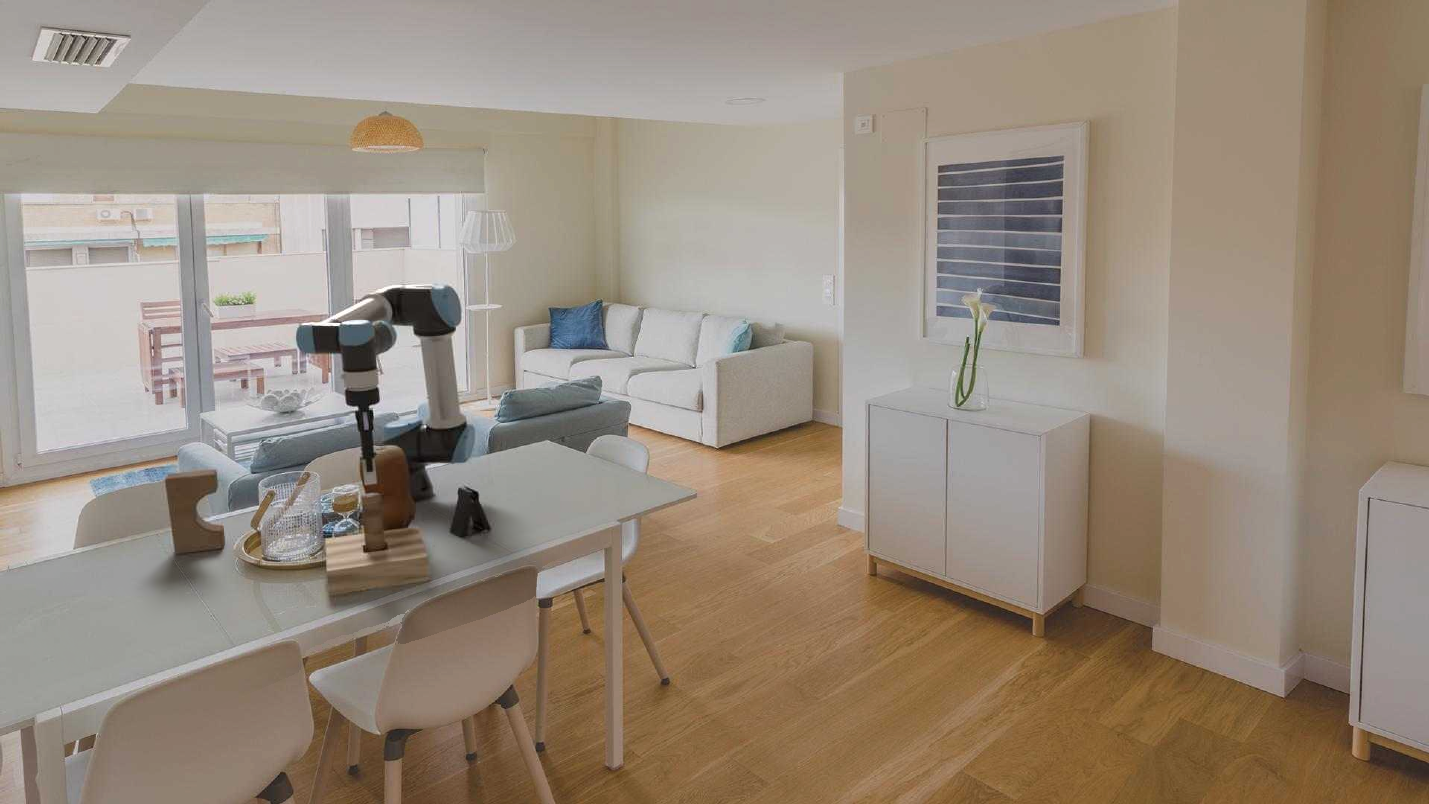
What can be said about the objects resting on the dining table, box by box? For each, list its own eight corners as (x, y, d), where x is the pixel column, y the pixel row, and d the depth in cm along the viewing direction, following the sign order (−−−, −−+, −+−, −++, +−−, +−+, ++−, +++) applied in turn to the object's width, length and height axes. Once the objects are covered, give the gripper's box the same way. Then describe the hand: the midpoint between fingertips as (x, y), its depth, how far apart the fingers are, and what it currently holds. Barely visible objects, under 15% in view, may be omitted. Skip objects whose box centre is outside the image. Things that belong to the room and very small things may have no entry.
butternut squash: (364, 532, 252) (356, 442, 247) (416, 525, 257) (409, 437, 252) (365, 550, 240) (357, 456, 234) (420, 543, 244) (413, 450, 239)
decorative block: (225, 541, 245) (216, 468, 241) (223, 549, 240) (214, 474, 236) (178, 547, 241) (168, 473, 237) (174, 555, 236) (164, 479, 232)
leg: (366, 564, 228) (360, 494, 224) (386, 562, 229) (380, 492, 225) (367, 571, 224) (361, 499, 220) (387, 568, 225) (381, 497, 221)
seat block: (327, 561, 232) (325, 538, 231) (419, 548, 241) (418, 526, 239) (329, 595, 213) (326, 571, 211) (429, 580, 221) (427, 556, 220)
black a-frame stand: (461, 538, 248) (458, 494, 245) (449, 532, 252) (447, 489, 250) (491, 529, 254) (488, 487, 252) (479, 524, 258) (476, 482, 256)
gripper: (343, 383, 222) (352, 477, 228) (345, 394, 211) (355, 493, 216) (376, 380, 225) (385, 473, 231) (380, 391, 214) (389, 489, 219)
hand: (370, 483), depth 224 cm, fingers closed
